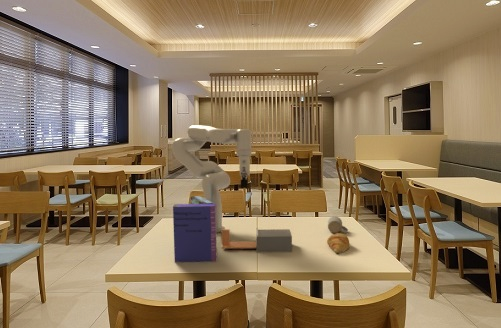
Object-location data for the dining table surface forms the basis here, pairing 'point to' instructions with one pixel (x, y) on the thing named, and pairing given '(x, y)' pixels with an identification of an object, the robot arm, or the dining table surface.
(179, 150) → the robot arm
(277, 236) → the grey boxy piece
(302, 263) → the dining table surface
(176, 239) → the cereal box
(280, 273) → the dining table surface
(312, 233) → the dining table surface
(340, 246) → the croissant
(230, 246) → the orange stepped block
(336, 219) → the ceramic mug
